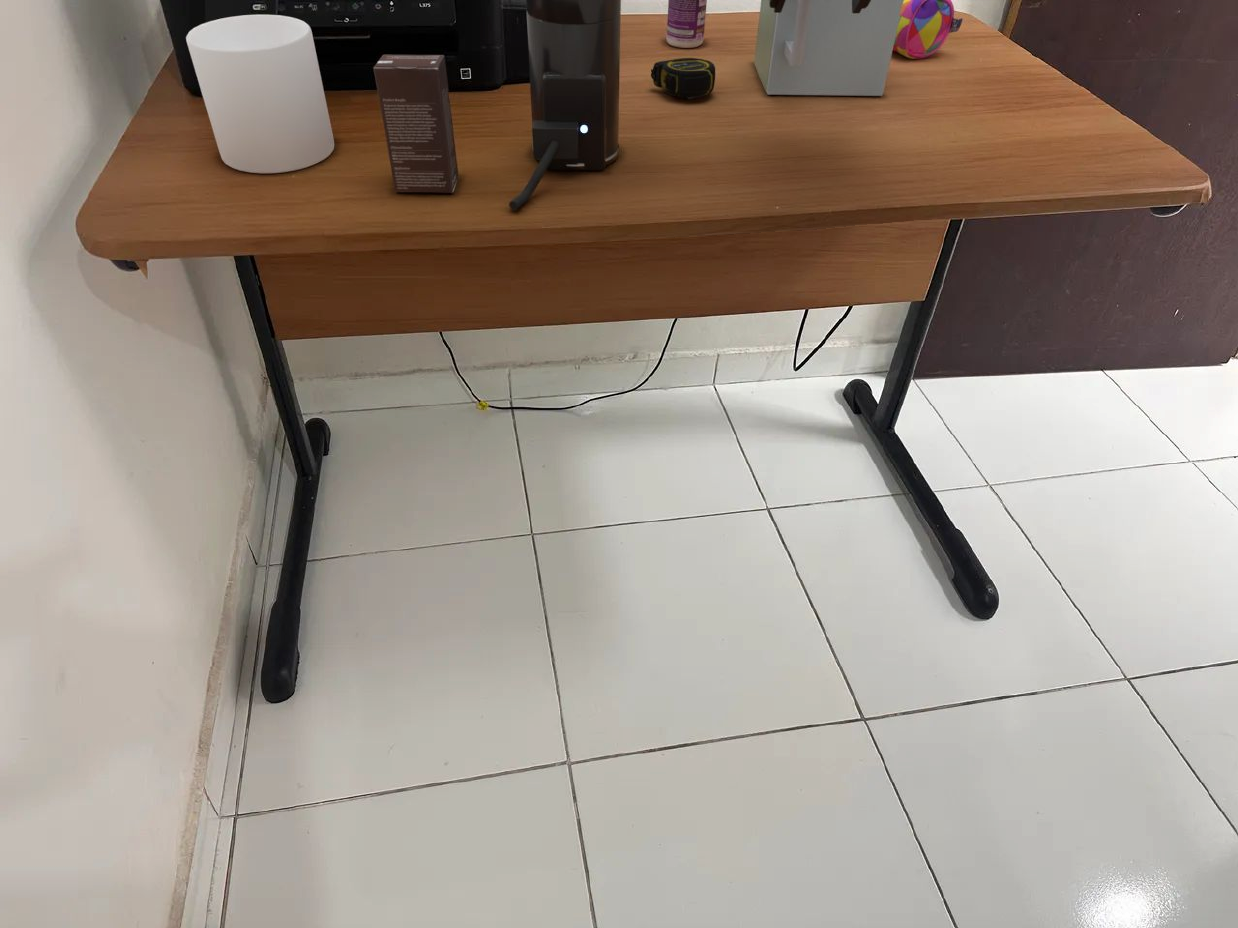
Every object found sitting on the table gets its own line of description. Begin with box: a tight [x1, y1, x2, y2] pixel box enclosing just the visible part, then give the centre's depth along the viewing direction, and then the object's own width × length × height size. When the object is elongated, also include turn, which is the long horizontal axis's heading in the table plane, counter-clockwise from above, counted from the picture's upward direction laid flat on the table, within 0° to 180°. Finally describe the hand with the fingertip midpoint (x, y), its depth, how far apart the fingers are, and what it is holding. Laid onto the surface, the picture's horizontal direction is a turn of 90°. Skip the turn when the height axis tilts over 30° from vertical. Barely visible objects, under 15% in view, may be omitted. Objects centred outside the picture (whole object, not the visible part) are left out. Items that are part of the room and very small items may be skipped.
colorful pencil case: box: [893, 0, 964, 60], centre depth 123 cm, size 22×9×9 cm, turn 26°
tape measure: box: [650, 57, 716, 100], centre depth 107 cm, size 7×7×4 cm
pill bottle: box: [665, 0, 708, 49], centre depth 120 cm, size 5×5×10 cm
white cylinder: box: [185, 14, 335, 174], centre depth 89 cm, size 12×12×12 cm
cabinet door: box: [765, 0, 903, 97], centre depth 101 cm, size 6×15×16 cm, turn 91°
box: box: [373, 54, 460, 194], centre depth 84 cm, size 6×4×12 cm
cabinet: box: [753, 0, 777, 92], centre depth 108 cm, size 11×15×17 cm
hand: (815, 5), depth 94 cm, fingers open, 8 cm apart
